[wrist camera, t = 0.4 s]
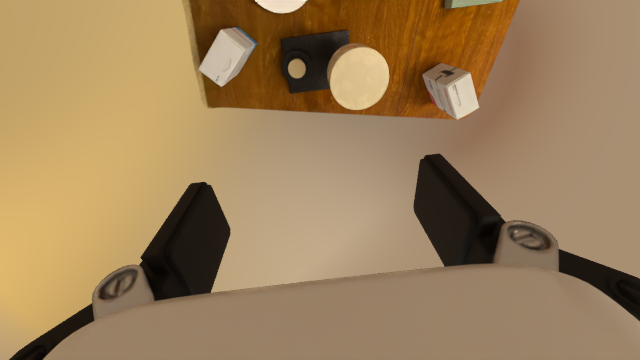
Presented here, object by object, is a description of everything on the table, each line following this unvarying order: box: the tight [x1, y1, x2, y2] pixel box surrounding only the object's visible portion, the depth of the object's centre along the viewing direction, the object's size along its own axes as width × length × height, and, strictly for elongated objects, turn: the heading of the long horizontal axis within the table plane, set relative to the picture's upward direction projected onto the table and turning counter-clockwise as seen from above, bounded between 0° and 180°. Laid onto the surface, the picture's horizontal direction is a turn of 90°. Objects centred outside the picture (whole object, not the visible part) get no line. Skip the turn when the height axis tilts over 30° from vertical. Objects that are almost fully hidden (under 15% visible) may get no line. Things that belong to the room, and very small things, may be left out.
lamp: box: [327, 43, 389, 110], centre depth 44 cm, size 9×9×18 cm
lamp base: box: [281, 30, 349, 93], centre depth 53 cm, size 15×11×4 cm
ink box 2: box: [422, 63, 479, 120], centre depth 54 cm, size 8×5×12 cm, turn 33°
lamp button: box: [288, 58, 306, 78], centre depth 51 cm, size 4×4×2 cm
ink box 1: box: [198, 27, 257, 87], centre depth 47 cm, size 9×5×12 cm, turn 139°
